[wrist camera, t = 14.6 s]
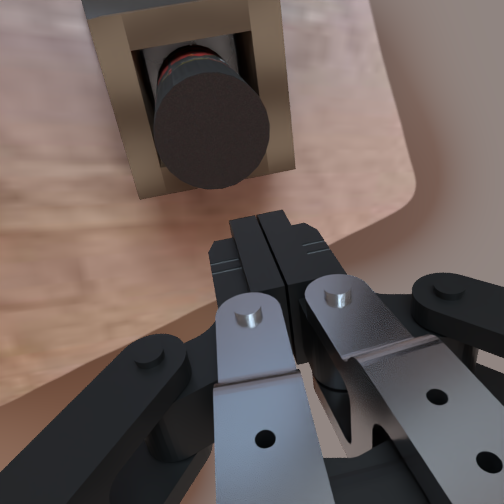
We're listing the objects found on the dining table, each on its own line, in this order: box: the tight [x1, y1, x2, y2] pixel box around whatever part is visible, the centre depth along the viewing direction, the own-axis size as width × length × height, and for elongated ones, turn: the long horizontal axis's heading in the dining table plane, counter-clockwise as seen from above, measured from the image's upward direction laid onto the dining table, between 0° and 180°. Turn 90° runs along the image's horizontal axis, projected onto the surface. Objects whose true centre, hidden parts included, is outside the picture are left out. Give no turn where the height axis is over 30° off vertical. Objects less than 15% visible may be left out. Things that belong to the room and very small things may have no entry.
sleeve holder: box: [81, 0, 296, 200], centre depth 33 cm, size 14×14×9 cm
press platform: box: [142, 34, 239, 101], centre depth 36 cm, size 7×7×1 cm
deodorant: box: [153, 45, 270, 189], centre depth 29 cm, size 6×6×15 cm
